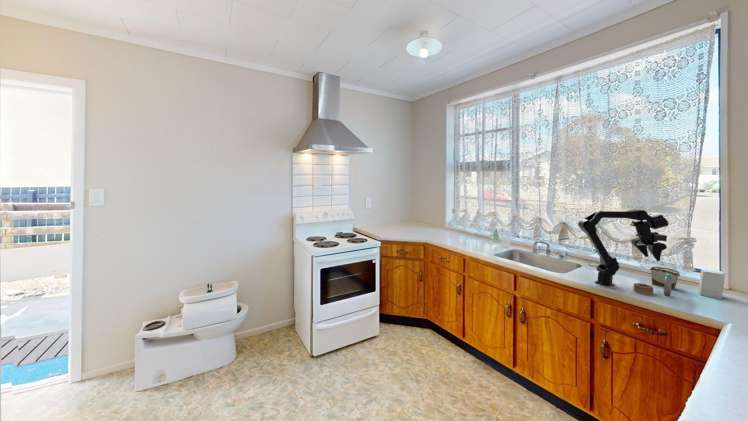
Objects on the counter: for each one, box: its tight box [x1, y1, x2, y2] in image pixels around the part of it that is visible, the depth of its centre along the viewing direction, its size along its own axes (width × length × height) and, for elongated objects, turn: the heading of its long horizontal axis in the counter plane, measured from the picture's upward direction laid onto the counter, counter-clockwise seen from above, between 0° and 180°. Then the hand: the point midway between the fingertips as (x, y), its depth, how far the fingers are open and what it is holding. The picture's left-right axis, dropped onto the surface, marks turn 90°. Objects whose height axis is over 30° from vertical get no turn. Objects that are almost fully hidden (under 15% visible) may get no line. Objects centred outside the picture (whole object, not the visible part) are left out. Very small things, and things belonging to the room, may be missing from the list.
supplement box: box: [698, 268, 726, 300], centre depth 148 cm, size 7×7×13 cm
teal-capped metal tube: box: [663, 274, 672, 297], centre depth 147 cm, size 2×2×11 cm
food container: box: [649, 266, 681, 291], centre depth 160 cm, size 12×6×10 cm, turn 22°
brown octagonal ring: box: [633, 282, 654, 295], centre depth 152 cm, size 7×7×4 cm
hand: (652, 258), depth 158 cm, fingers open, 9 cm apart
